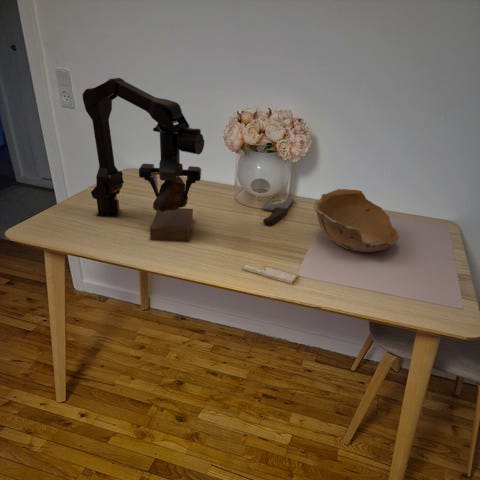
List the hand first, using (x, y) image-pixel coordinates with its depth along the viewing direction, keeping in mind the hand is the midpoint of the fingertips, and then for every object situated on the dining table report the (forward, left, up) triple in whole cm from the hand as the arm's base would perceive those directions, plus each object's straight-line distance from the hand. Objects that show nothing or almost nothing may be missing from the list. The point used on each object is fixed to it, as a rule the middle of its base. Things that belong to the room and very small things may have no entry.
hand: (171, 199), depth 140 cm
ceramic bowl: (+60, -2, -11) cm, 61 cm away
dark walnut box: (0, 0, -10) cm, 10 cm away
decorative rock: (0, 0, -4) cm, 4 cm away
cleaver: (+36, +21, -11) cm, 43 cm away
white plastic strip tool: (+31, -27, -11) cm, 43 cm away
